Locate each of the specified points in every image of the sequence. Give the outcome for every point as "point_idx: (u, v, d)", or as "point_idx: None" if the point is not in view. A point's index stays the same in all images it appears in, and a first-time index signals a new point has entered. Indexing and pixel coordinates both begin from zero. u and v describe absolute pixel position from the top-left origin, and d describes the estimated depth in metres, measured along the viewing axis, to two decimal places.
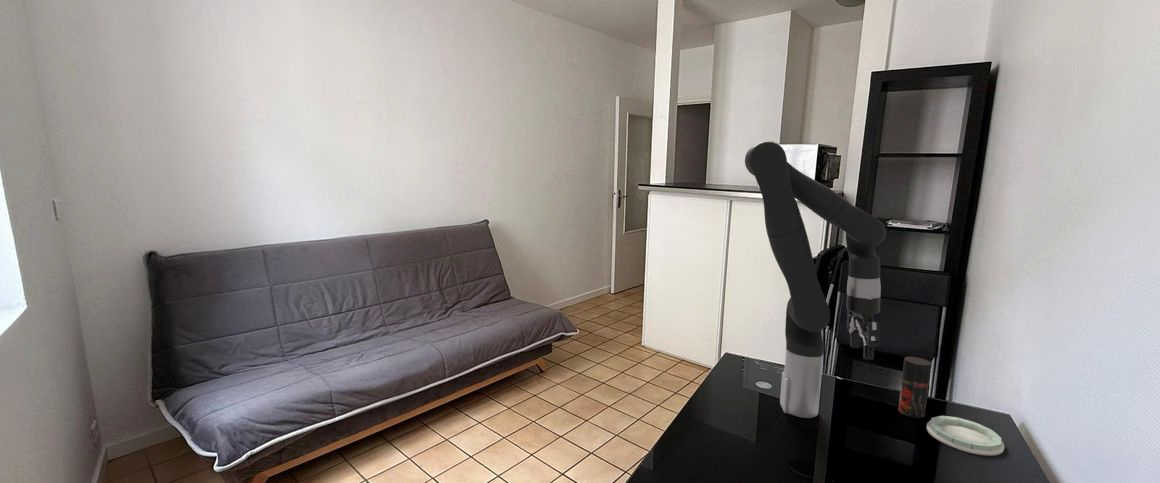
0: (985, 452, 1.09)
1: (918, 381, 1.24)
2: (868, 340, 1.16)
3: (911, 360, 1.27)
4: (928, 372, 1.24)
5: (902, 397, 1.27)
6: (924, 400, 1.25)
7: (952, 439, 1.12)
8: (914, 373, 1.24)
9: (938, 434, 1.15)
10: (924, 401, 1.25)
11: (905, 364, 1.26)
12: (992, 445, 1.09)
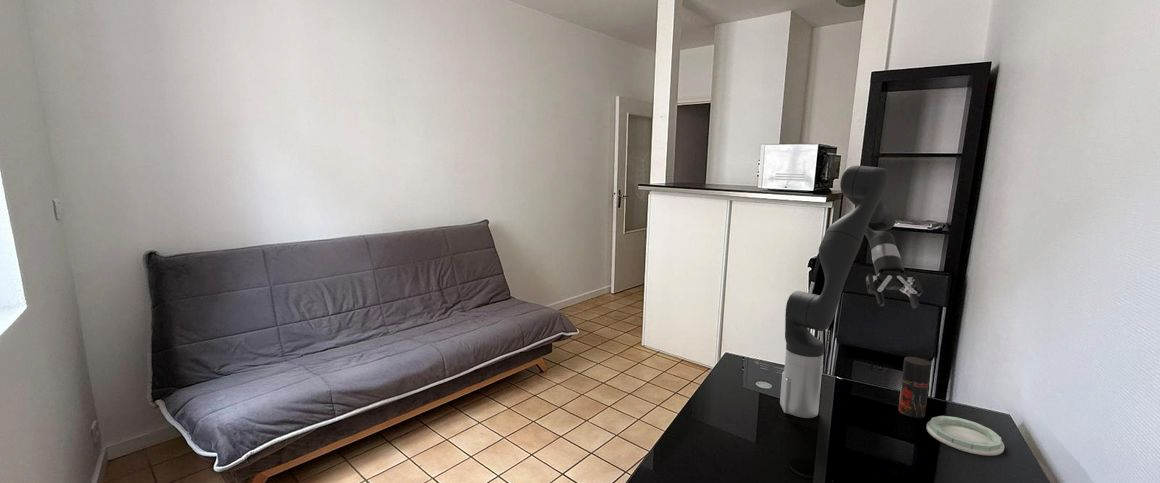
0: (985, 452, 1.09)
1: (918, 381, 1.24)
2: (920, 288, 1.39)
3: (911, 360, 1.27)
4: (928, 372, 1.24)
5: (902, 397, 1.27)
6: (924, 400, 1.25)
7: (952, 439, 1.12)
8: (914, 373, 1.24)
9: (938, 434, 1.15)
10: (924, 401, 1.25)
11: (905, 364, 1.26)
12: (992, 445, 1.09)
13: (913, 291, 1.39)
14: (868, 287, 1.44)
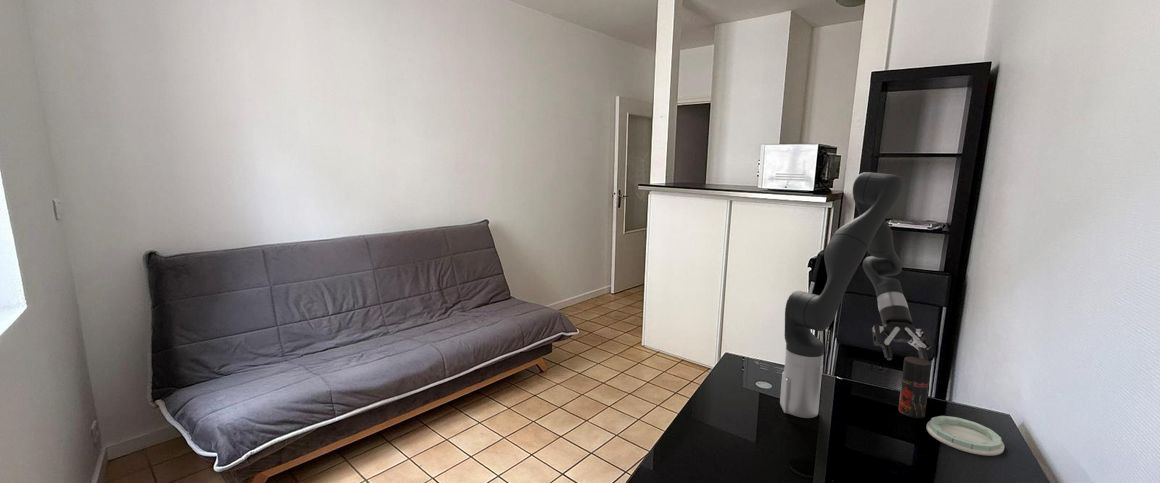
0: (985, 452, 1.09)
1: (918, 381, 1.24)
2: (930, 342, 1.32)
3: (911, 360, 1.27)
4: (928, 372, 1.24)
5: (902, 397, 1.27)
6: (924, 400, 1.25)
7: (952, 439, 1.12)
8: (914, 373, 1.24)
9: (938, 434, 1.15)
10: (924, 401, 1.25)
11: (905, 364, 1.26)
12: (992, 445, 1.09)
13: (922, 345, 1.32)
14: (874, 339, 1.37)
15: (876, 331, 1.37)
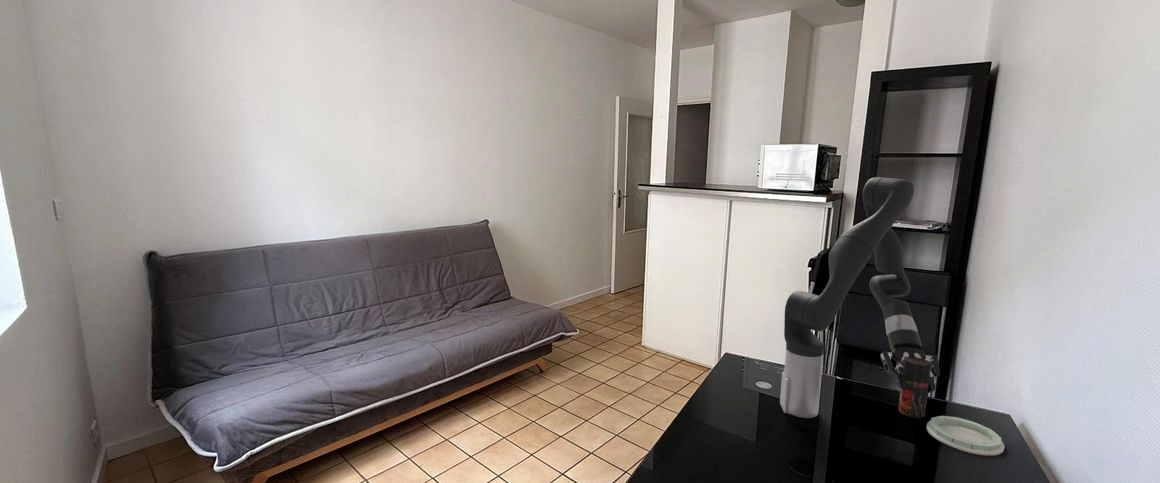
0: (985, 452, 1.09)
1: (918, 381, 1.24)
2: (937, 370, 1.27)
3: (911, 359, 1.27)
4: (928, 372, 1.24)
5: (902, 397, 1.27)
6: (924, 400, 1.25)
7: (952, 439, 1.12)
8: (914, 373, 1.24)
9: (938, 434, 1.15)
10: (924, 401, 1.25)
11: (905, 364, 1.26)
12: (992, 445, 1.09)
13: None
14: (886, 367, 1.31)
15: (886, 359, 1.30)
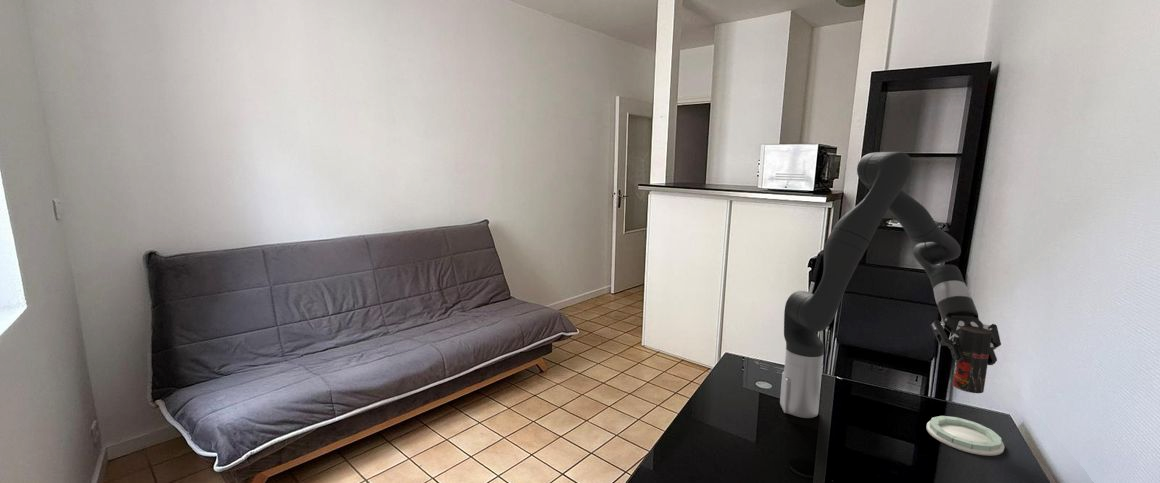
0: (985, 452, 1.09)
1: (978, 352, 1.11)
2: (997, 340, 1.13)
3: (968, 328, 1.13)
4: (989, 341, 1.10)
5: (958, 370, 1.14)
6: (984, 373, 1.11)
7: (952, 439, 1.12)
8: (973, 343, 1.11)
9: (938, 434, 1.15)
10: (984, 374, 1.12)
11: (962, 333, 1.13)
12: (992, 445, 1.09)
13: None
14: (938, 337, 1.18)
15: (939, 329, 1.17)
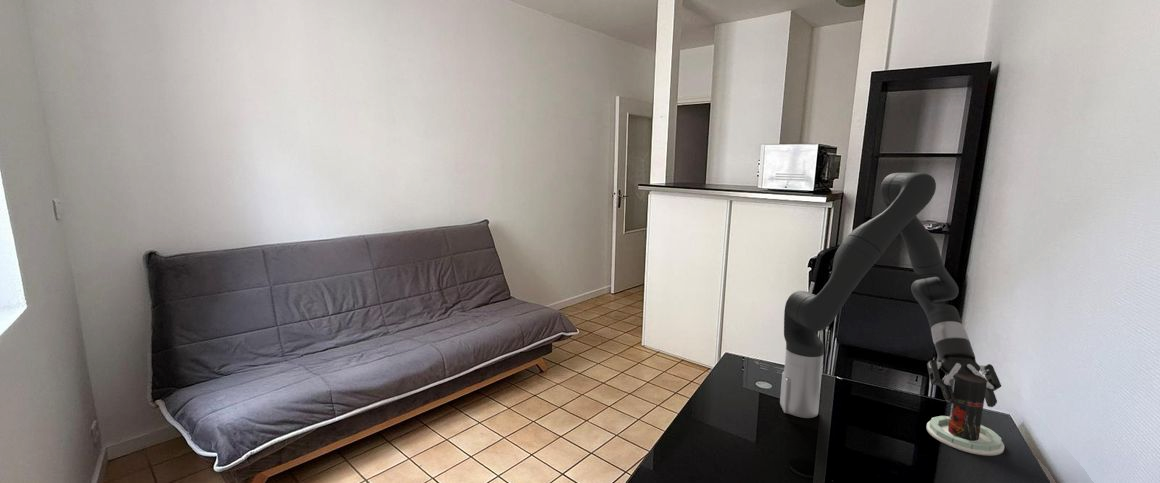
0: (985, 452, 1.09)
1: (973, 400, 1.12)
2: (997, 382, 1.14)
3: (963, 376, 1.14)
4: (984, 390, 1.12)
5: (953, 417, 1.15)
6: (979, 421, 1.13)
7: (952, 439, 1.12)
8: (968, 391, 1.12)
9: (938, 434, 1.15)
10: (979, 422, 1.13)
11: (957, 381, 1.14)
12: (992, 445, 1.09)
13: (989, 385, 1.14)
14: (931, 376, 1.19)
15: (933, 368, 1.18)
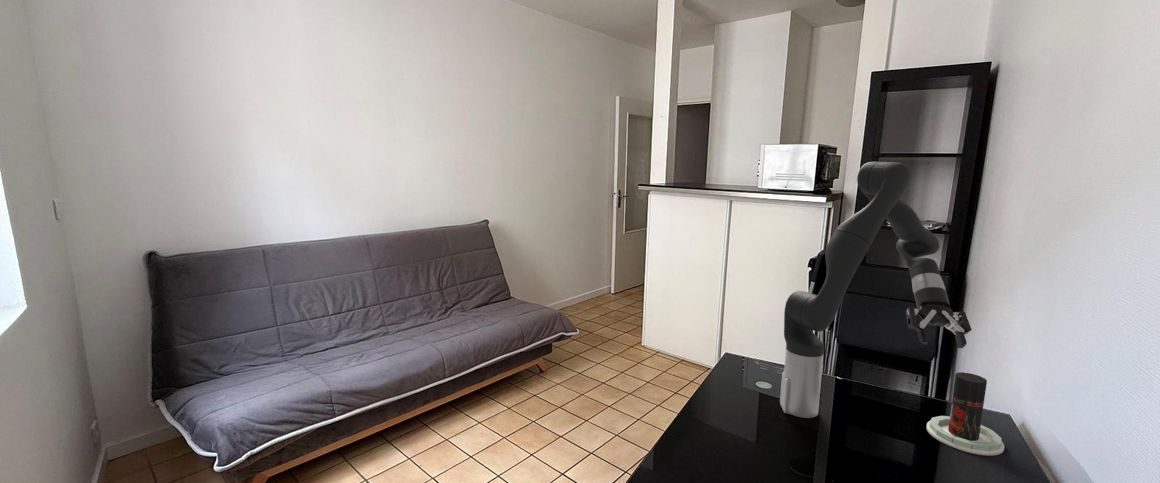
0: (985, 452, 1.09)
1: (973, 400, 1.12)
2: (968, 326, 1.25)
3: (963, 376, 1.14)
4: (984, 390, 1.12)
5: (953, 417, 1.15)
6: (979, 421, 1.13)
7: (952, 439, 1.12)
8: (968, 391, 1.12)
9: (938, 434, 1.15)
10: (979, 422, 1.13)
11: (957, 381, 1.14)
12: (992, 445, 1.09)
13: (960, 329, 1.25)
14: (908, 321, 1.30)
15: (911, 314, 1.29)
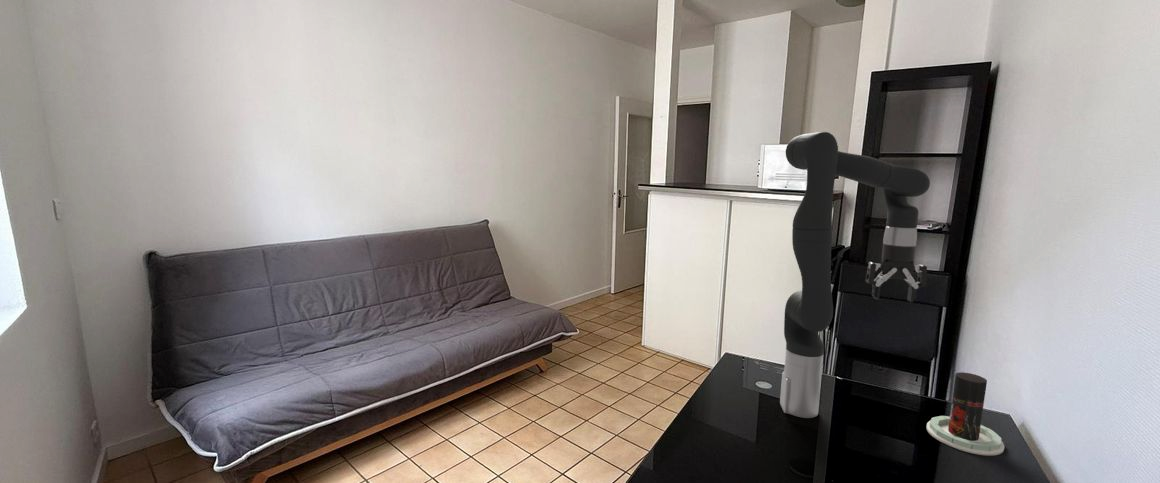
0: (985, 452, 1.09)
1: (973, 400, 1.12)
2: (924, 282, 1.27)
3: (963, 376, 1.14)
4: (984, 390, 1.12)
5: (953, 417, 1.15)
6: (979, 421, 1.13)
7: (952, 439, 1.12)
8: (968, 391, 1.12)
9: (938, 434, 1.15)
10: (979, 422, 1.13)
11: (957, 381, 1.14)
12: (992, 445, 1.09)
13: (914, 285, 1.28)
14: (867, 275, 1.32)
15: (871, 271, 1.30)
